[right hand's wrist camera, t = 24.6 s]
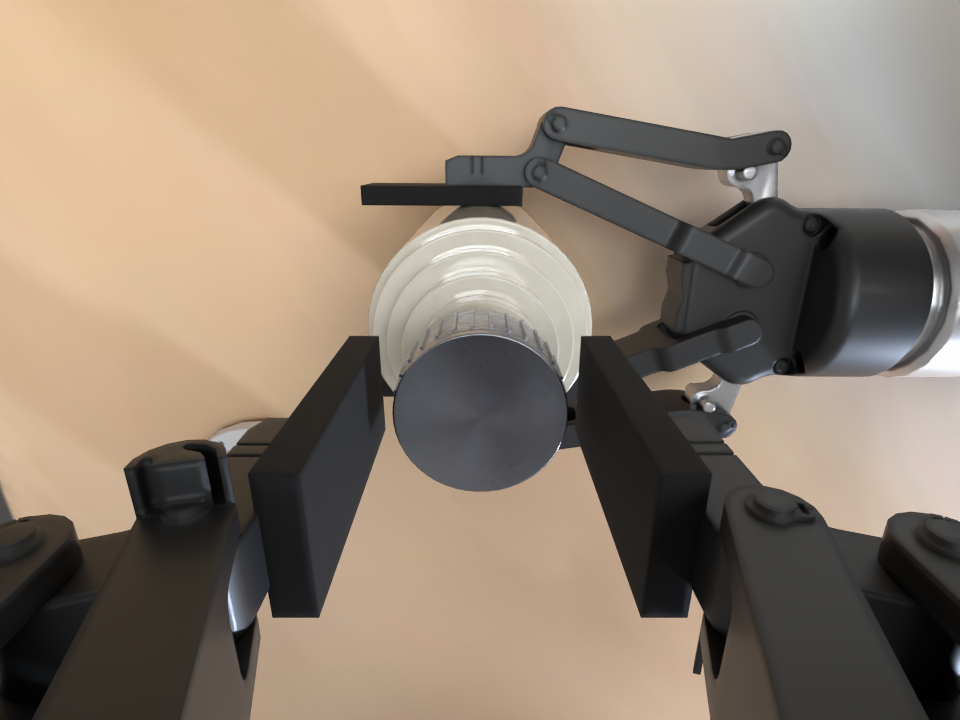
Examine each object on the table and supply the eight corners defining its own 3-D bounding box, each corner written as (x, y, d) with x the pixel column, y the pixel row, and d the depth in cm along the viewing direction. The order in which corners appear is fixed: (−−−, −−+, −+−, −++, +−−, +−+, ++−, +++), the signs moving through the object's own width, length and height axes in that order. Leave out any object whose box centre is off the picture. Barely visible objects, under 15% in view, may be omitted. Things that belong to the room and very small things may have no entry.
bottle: (485, 163, 28) (493, 165, 11) (576, 270, 30) (702, 413, 13) (383, 261, 30) (254, 393, 13) (475, 357, 32) (470, 581, 15)
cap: (439, 280, 13) (432, 300, 11) (587, 347, 14) (604, 376, 12) (378, 417, 15) (363, 455, 13) (516, 473, 15) (521, 517, 13)
